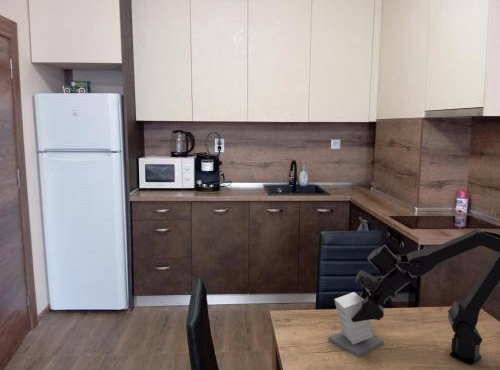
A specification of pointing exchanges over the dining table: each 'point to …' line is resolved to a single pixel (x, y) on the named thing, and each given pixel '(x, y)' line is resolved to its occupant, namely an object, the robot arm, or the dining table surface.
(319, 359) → the dining table surface
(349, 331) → the supplement box
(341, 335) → the tile
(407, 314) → the dining table surface
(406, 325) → the dining table surface
